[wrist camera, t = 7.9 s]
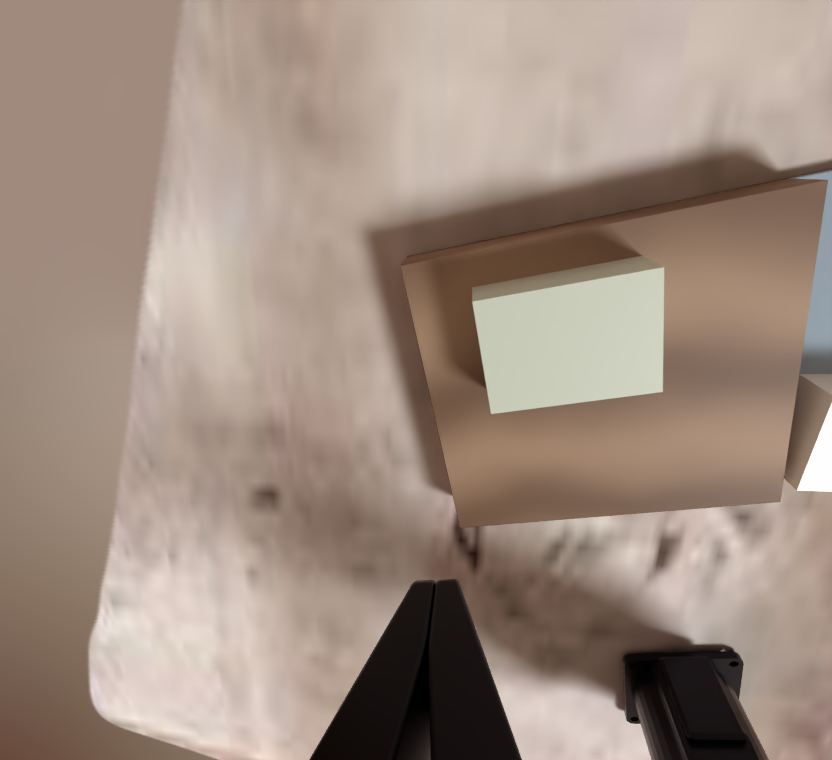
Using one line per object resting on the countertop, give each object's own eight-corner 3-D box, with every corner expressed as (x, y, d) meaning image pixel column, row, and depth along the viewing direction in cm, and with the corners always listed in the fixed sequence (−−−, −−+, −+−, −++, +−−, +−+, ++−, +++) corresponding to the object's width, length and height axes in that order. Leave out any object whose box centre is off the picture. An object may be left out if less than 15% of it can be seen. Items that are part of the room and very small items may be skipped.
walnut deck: (753, 473, 21) (780, 501, 19) (461, 500, 24) (460, 527, 22) (788, 178, 16) (828, 179, 14) (407, 256, 18) (400, 266, 17)
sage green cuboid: (643, 368, 17) (662, 391, 16) (489, 390, 18) (491, 414, 17) (642, 255, 16) (664, 267, 14) (472, 287, 17) (472, 301, 15)
